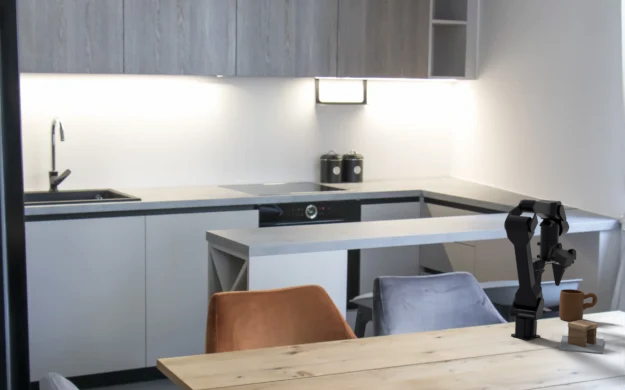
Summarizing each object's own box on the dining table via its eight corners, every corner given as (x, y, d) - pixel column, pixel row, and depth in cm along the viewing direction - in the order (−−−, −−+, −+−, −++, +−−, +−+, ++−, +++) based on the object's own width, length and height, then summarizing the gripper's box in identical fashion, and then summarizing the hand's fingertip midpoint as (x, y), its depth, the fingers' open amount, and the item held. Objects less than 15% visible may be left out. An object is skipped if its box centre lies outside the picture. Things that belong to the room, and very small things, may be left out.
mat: (602, 353, 264) (602, 352, 264) (559, 349, 268) (559, 348, 268) (603, 340, 280) (603, 338, 280) (562, 336, 283) (562, 335, 283)
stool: (584, 347, 270) (585, 326, 269) (567, 343, 274) (568, 322, 274) (596, 344, 273) (597, 323, 273) (579, 340, 278) (580, 319, 277)
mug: (594, 317, 309) (595, 289, 308) (598, 323, 301) (599, 294, 300) (557, 316, 310) (558, 288, 309) (560, 321, 303) (561, 293, 302)
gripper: (550, 246, 282) (548, 296, 284) (588, 239, 293) (587, 288, 295) (522, 241, 291) (520, 289, 293) (560, 235, 302) (559, 282, 304)
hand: (547, 287), depth 296 cm, fingers open, 9 cm apart
